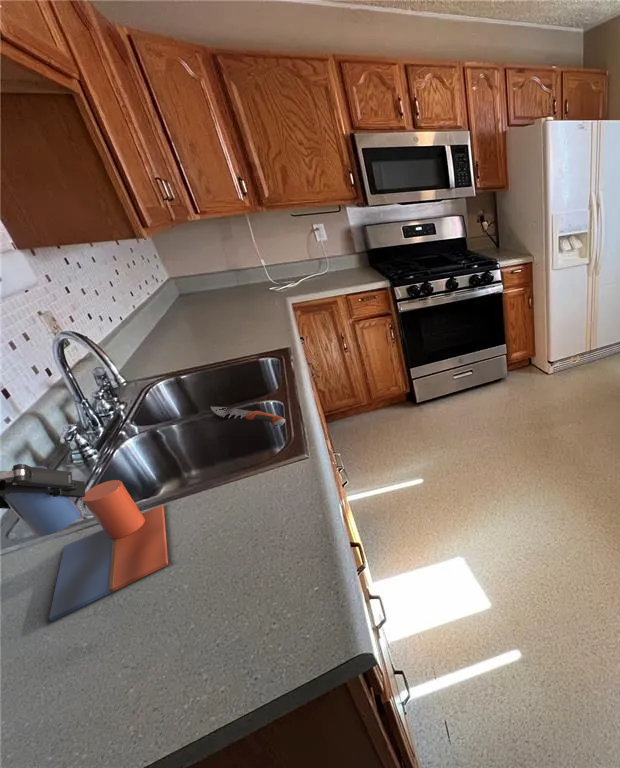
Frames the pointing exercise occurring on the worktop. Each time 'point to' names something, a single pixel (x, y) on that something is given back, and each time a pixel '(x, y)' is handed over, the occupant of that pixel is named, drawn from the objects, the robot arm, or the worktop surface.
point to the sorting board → (108, 563)
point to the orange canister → (114, 509)
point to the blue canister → (43, 511)
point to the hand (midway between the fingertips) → (58, 495)
